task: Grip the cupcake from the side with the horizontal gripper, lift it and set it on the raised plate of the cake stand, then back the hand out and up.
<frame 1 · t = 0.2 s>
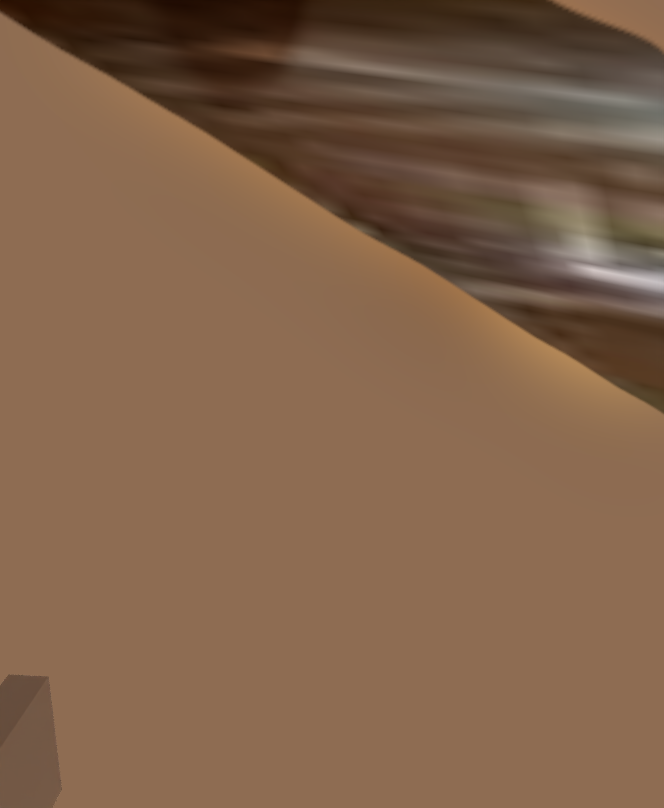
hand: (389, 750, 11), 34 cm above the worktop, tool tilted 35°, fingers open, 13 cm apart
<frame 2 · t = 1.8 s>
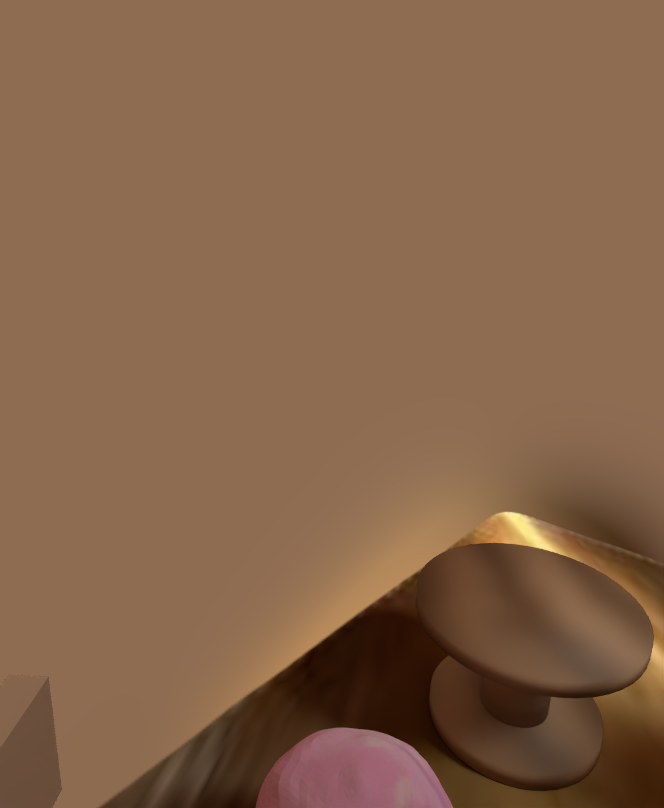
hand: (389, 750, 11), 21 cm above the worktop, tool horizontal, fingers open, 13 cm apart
cake stand: (511, 715, 39), on the worktop
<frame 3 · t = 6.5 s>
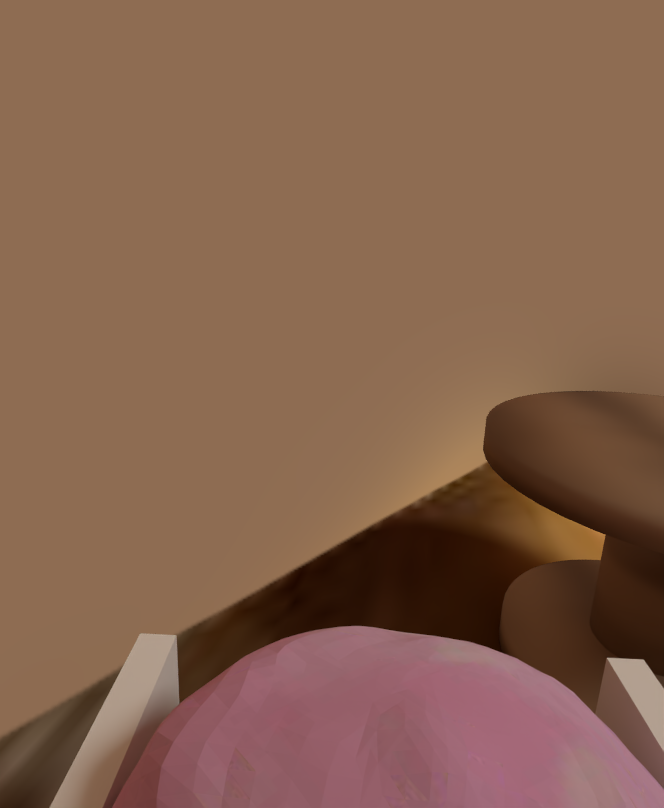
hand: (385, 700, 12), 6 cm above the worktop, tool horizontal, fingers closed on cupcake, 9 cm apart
cake stand: (645, 663, 23), on the worktop
when the fingers open (17 cm above the worktop, at t = 11.4 s): cupcake drops 1 cm, resting on cake stand.
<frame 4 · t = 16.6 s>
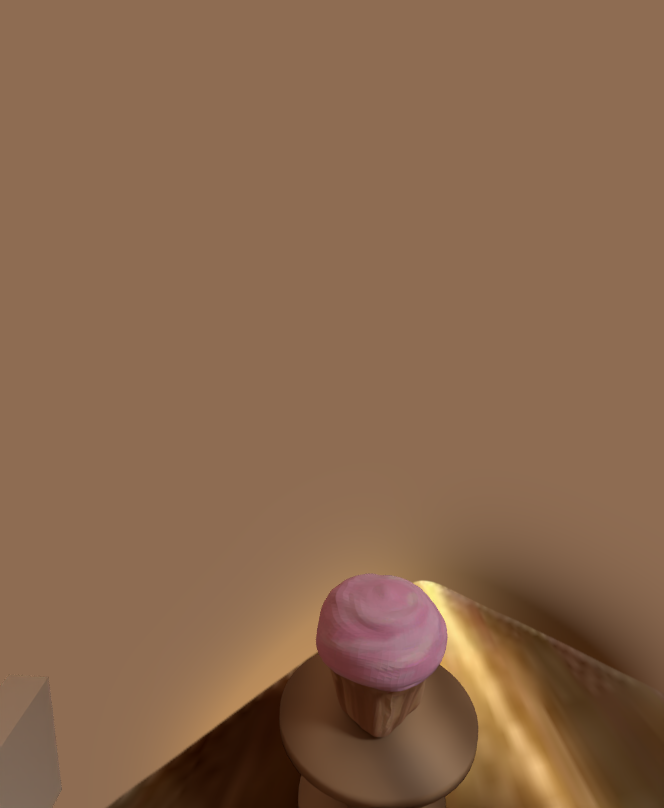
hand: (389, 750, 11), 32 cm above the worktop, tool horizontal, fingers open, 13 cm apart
cupcake: (375, 710, 42), point 9 cm above the worktop, touching cake stand
cake stand: (370, 804, 44), on the worktop
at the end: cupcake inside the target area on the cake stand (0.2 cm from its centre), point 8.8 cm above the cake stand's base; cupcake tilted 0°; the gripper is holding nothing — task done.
